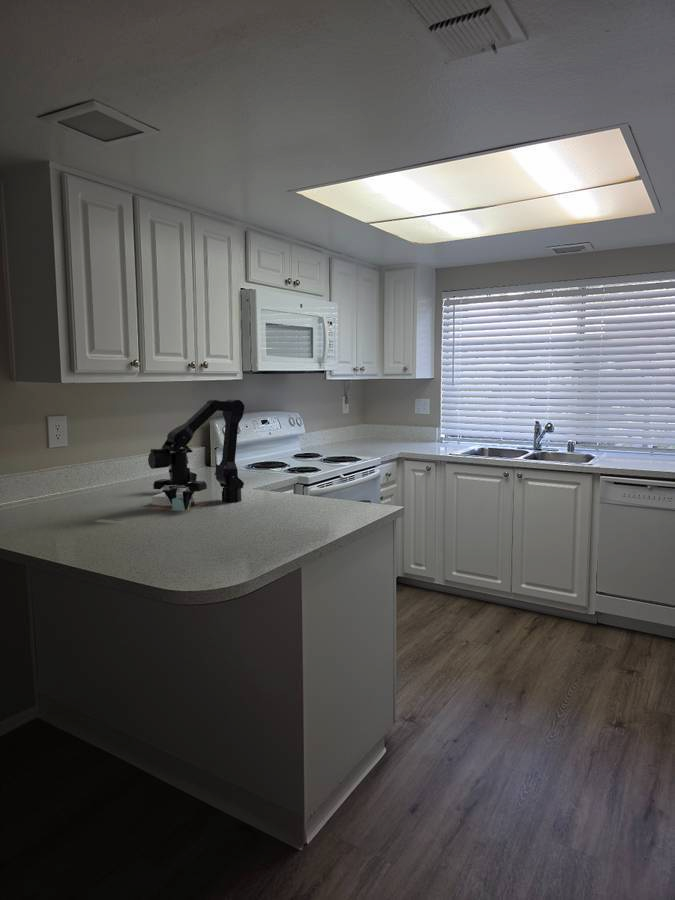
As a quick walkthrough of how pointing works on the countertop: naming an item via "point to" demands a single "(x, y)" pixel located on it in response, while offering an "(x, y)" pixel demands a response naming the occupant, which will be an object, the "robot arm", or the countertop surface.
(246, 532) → the countertop surface
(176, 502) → the teal hollow cube
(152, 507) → the board
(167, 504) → the white bent bar
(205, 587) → the countertop surface
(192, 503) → the pin
